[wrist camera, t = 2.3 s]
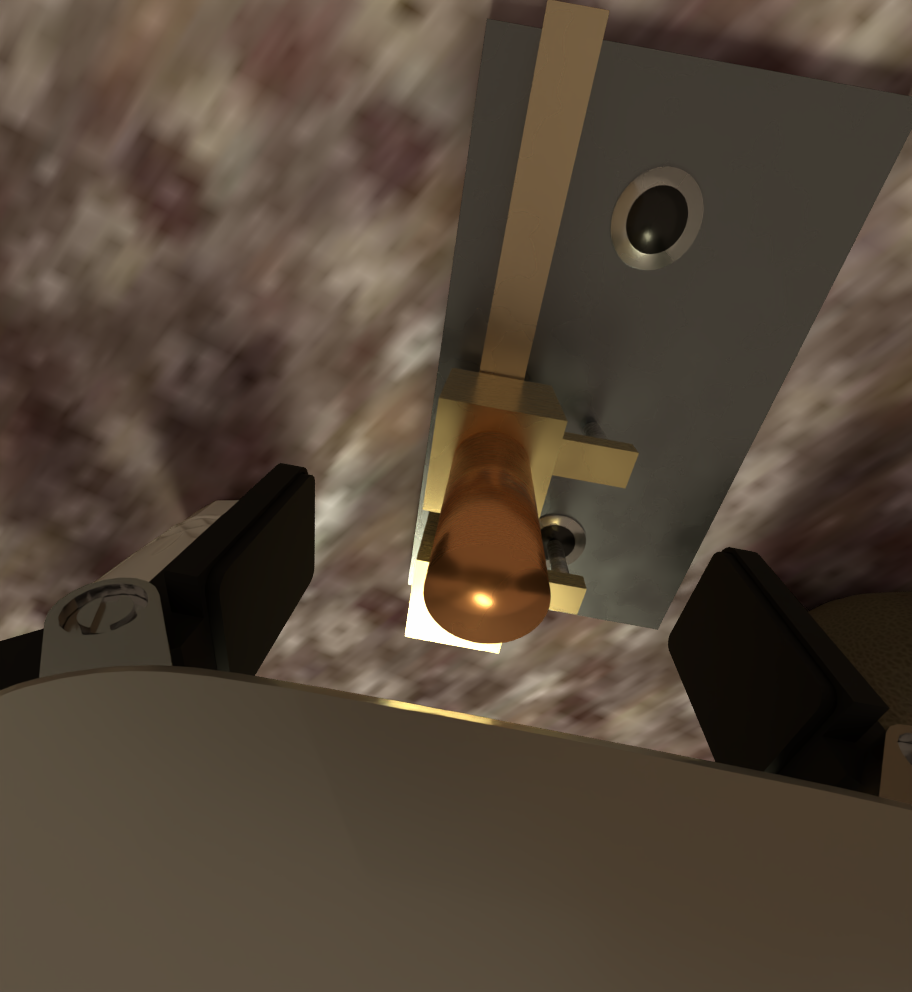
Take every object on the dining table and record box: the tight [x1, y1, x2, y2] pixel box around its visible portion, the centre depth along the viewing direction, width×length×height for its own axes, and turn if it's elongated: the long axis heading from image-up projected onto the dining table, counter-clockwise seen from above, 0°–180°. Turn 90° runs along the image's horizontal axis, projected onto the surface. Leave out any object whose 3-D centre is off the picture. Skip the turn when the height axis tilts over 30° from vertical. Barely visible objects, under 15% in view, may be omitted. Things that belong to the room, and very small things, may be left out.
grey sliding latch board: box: [405, 0, 912, 653], centre depth 19 cm, size 26×16×8 cm, turn 171°
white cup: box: [94, 500, 239, 583], centre depth 25 cm, size 8×8×10 cm
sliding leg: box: [423, 368, 639, 644], centre depth 16 cm, size 4×8×14 cm, turn 81°
